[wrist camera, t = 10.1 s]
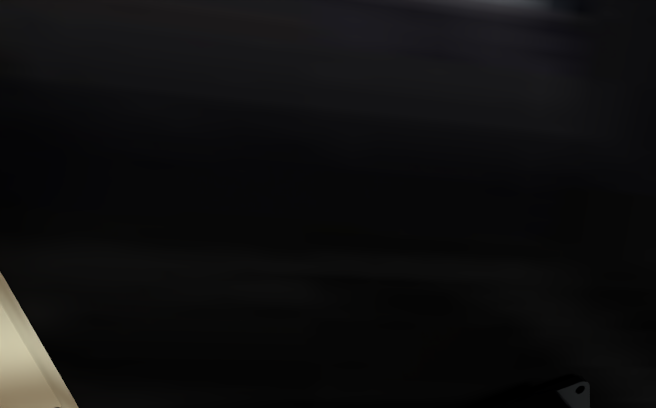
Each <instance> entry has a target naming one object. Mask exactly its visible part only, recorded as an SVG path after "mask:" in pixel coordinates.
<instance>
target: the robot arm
mask: <svg viewBox="0 0 656 408" xmlns="http://www.w3.org/2000/svg"><path fill="white" fill-rule="evenodd" d="M55 408H60V407H55ZM491 408H590V386H589V383H588V382H587V381H586V380H585V379H584V378H583V377H582V376H575V377H572V378H570V379H567V380H564V381H561V382H559V383H556V384H553V385H551V386H548V387H545V388H543V389H540V390H537V391H534V392H532V393H529V394H526V395H524V396H521V397H518V398H515V399H513V400H510V401H507V402H505V403H502V404H499V405H496V406H494V407H491Z"/></svg>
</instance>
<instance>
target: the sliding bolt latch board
mask: <svg viewBox="0 0 656 408" xmlns="http://www.w3.org/2000/svg"><path fill="white" fill-rule="evenodd" d="M55 407H60V408H78V406H77V404H76V402H75V401H74V399H73V397H72V395H71V394H70V392H69V390H68V388H67V387H66V385H65V383H64V381H63V380H62V378H61V376H60V375H59V373H58V371H57V369H56V368H55V366H54V364H53V362H52V361H51V359H50V357H49V355H48V354H47V352H46V350H45V348H44V347H43V345H42V343H41V342H40V340H39V338H38V336H37V335H36V333H35V331H34V329H33V328H32V326H31V324H30V322H29V321H28V319H27V317H26V315H25V314H24V312H23V310H22V309H21V307H20V305H19V303H18V302H17V300H16V298H15V296H14V295H13V293H12V291H11V289H10V288H9V286H8V284H7V282H6V281H5V279H4V277H3V276H2V274H1V272H0V408H55Z"/></svg>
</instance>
